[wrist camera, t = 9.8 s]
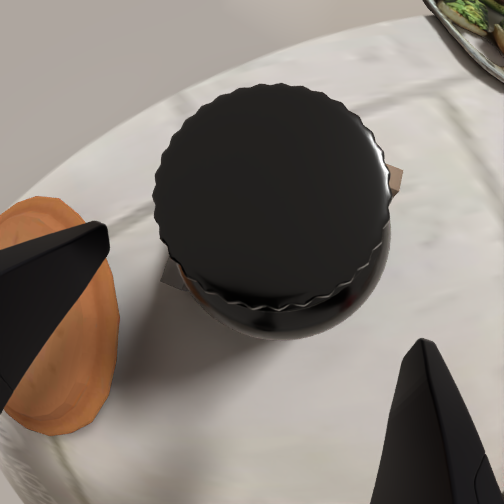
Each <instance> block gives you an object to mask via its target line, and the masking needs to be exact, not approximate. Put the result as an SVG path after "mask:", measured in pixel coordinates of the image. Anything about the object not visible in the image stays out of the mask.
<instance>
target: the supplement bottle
mask: <svg viewBox="0 0 504 504" xmlns="http://www.w3.org/2000/svg"><path fill="white" fill-rule="evenodd" d="M390 177H391V173H390V171H389V169H388V167H387V166H386V164H385V162H384V151H383V150H382V149H381V148H380V147H379V146H378V144H377V143H376V142H375V137H374V134H373V132H372V131H370V130H369V129H368V128H367V127H365V126H364V125H363V123H362V121H361V119H360V117H359V116H358V115H356V114H354V113H352V112H350V111H348V109H347V108H346V107H345V105H344V104H343V103H342V102H339V101H336V100H333V99H330V98H329V97H328V96H327V95H326V94H324V93H323V92H317V91H311V90H309V89H308V88H306V87H304V86H289V85H287V84H283V83H279V84H274V85H266V84H258V85H255V86H253V87H250V88H238V89H236V90H235V91H233V92H232V93H229V94H224V95H220V96H218V97H217V98H216V99H215V100H214V101H213V102H211V103H209V104H206V105H203V106H201V107H200V109H199V110H198V111H197V112H196V114H195V115H193V116H191V117H189V118H188V119H186V120H185V122H184V123H183V125H182V127H181V129H180V130H179V131H178V132H176V133H175V134H174V135H173V136H172V138H171V141H170V145H169V147H168V148H167V149H166V150H165V151H164V152H163V154H162V156H161V165H160V167H159V168H158V170H157V171H156V173H155V182H156V186H155V188H154V191H153V194H152V197H153V201H154V202H155V205H156V206H155V211H154V219H155V221H156V222H157V223H158V225H159V234H160V239H161V241H162V242H163V243H164V244H165V245H167V246H168V251H169V255H170V259H171V260H172V261H174V262H175V263H176V265H177V268H178V270H179V273H180V276H181V278H182V280H183V282H184V284H185V286H186V287H187V289H188V290H189V292H190V294H191V295H192V296H193V297H194V299H195V300H196V301H197V303H198V304H199V305H200V306H201V307H202V308H203V309H204V310H205V311H206V312H207V313H208V314H210V315H211V316H212V317H213V318H215V319H216V320H217V321H219V322H220V323H222V324H223V325H225V326H227V327H229V328H231V329H232V330H235V331H237V332H240V333H242V334H245V335H248V336H251V337H255V338H260V339H266V340H295V339H301V338H306V337H310V336H313V335H317V334H319V333H322V332H324V331H327V330H329V329H331V328H333V327H335V326H336V325H338V324H340V323H341V322H343V321H344V320H346V319H347V318H348V317H350V316H351V315H352V314H353V313H354V312H356V311H357V310H358V309H359V308H360V307H361V306H362V305H363V303H364V302H365V301H366V300H367V299H368V297H369V296H370V295H371V293H372V292H373V290H374V289H375V287H376V285H377V284H378V282H379V280H380V278H381V275H382V273H383V271H384V268H385V265H386V262H387V258H388V254H389V249H390V240H391V224H390V213H389V209H388V206H389V205H390V203H391V201H392V198H393V194H392V190H391V188H390V186H389V181H390Z"/></svg>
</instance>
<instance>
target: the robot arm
mask: <svg viewBox="0 0 504 504" xmlns="http://www.w3.org/2000/svg"><path fill="white" fill-rule="evenodd" d="M109 251H110V243H109V236H108V229H107V226H106V225H105V224H103V223H101V222H98V221H91V222H88V223H84V224H81V225H77V226H74V227H70V228H67V229H64V230H60V231H57V232H54V233H51V234H47V235H44V236H41V237H38V238H35V239H32V240H28V241H25V242H22V243H19V244H16V245H13V246H10V247H7V248H5V249H2V250H0V414H1V412H2V411H3V409H4V407H5V406H6V404H7V402H8V401H9V399H10V397H11V396H12V394H13V392H14V390H15V389H16V387H17V386H18V384H19V382H20V381H21V379H22V378H23V376H24V375H25V373H26V372H27V370H28V369H29V367H30V366H31V364H32V362H33V361H34V360H35V358H36V357H37V355H38V354H39V352H40V351H41V349H42V348H43V346H44V345H45V343H46V342H47V341H48V339H49V338H50V336H51V335H52V334H53V332H54V331H55V329H56V328H57V327H58V325H59V324H60V323H61V321H62V320H63V318H64V317H65V316H66V314H67V313H68V312H69V310H70V309H71V308H72V306H73V305H74V304H75V303H76V301H77V300H78V299H79V297H80V296H81V295H82V293H83V292H84V290H85V289H86V287H87V286H88V284H89V283H90V281H91V280H92V278H93V276H94V275H95V273H96V272H97V270H98V269H99V267H100V266H101V264H102V263H103V261H104V260H105V258H106V257H107V255H108V253H109ZM370 504H504V498H503V496H502V493H501V491H500V489H499V486H498V484H497V481H496V479H495V476H494V473H493V471H492V468H491V465H490V463H489V460H488V457H487V455H486V454H485V450H484V447H483V445H482V442H481V440H480V437H479V435H478V432H477V430H476V428H475V425H474V423H473V421H472V418H471V416H470V414H469V412H468V409H467V407H466V405H465V403H464V401H463V398H462V396H461V394H460V392H459V390H458V388H457V386H456V384H455V382H454V380H453V377H452V375H451V373H450V371H449V369H448V367H447V366H446V364H445V362H444V360H443V358H442V356H441V354H440V352H439V350H438V348H437V346H436V344H435V343H434V342H433V341H430V340H427V339H424V338H420V339H418V340H417V341H416V342H415V344H414V345H413V346H412V347H411V349H410V350H409V351H408V352H407V354H406V355H405V356H404V358H403V360H402V363H401V367H400V372H399V376H398V381H397V385H396V389H395V393H394V397H393V401H392V405H391V409H390V413H389V418H388V424H387V429H386V435H385V440H384V446H383V451H382V456H381V460H380V465H379V470H378V474H377V478H376V482H375V486H374V490H373V494H372V498H371V502H370Z"/></svg>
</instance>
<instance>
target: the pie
mask: <svg viewBox="0 0 504 504" xmlns="http://www.w3.org/2000/svg"><path fill="white" fill-rule="evenodd" d="M84 223H86V222H85V221H84V220H83V219H82V218H81V216H80V215H79V214H78V213H77V212H75V211H74V210H73V209H72V208H70V207H69V206H68V205H67V204H65V203H64V202H63V201H62V200H61V199H59V198H50V197H40V196H35V197H32V198H29V199H26V200H24V201H21V202H18V203H16V204H15V205H13V206H12V207H11V208H9V209H8V210H6V211H5V212H4V213H2V214H1V215H0V250H2V249H5V248H7V247H10V246H13V245H16V244H19V243H22V242H25V241H28V240H32V239H35V238H38V237H41V236H44V235H47V234H51V233H54V232H57V231H60V230H64V229H67V228H70V227H74V226H77V225H81V224H84ZM119 322H120V315H119V310H118V304H117V299H116V293H115V287H114V280H113V275H112V272H111V269H110V267H109V264H108V261H107V259H106V258H105V260H104V261H103V263H102V264H101V266H100V267H99V269H98V270H97V272H96V273H95V275H94V276H93V278H92V280H91V281H90V283H89V284H88V286H87V287H86V289H85V290H84V292H83V293H82V295H81V296H80V297H79V299H78V300H77V301H76V303H75V304H74V305H73V306H72V308H71V309H70V310H69V312H68V313H67V314H66V316H65V317H64V318H63V320H62V321H61V323H60V324H59V325H58V327H57V328H56V329H55V331H54V332H53V334H52V335H51V336H50V338H49V339H48V341H47V342H46V343H45V345H44V346H43V348H42V349H41V351H40V352H39V354H38V355H37V357H36V358H35V360H34V361H33V362H32V364H31V366H30V367H29V369H28V370H27V372H26V373H25V375H24V376H23V378H22V379H21V381H20V382H19V384H18V386H17V387H16V389H15V390H14V392H13V394H12V396H11V397H10V399H9V401H8V402H7V404H6V406H5V407H4V410H5V411H6V413H7V414H8V415H9V416H11V417H12V418H13V419H14V420H16V421H17V422H18V423H20V424H21V425H22V426H24V427H25V428H27V429H30V430H33V431H36V432H39V433H42V434H45V435H48V436H54V435H62V434H69V433H72V432H74V431H76V430H78V429H80V428H82V427H84V426H86V425H88V424H90V423H92V421H93V420H94V418H95V417H96V415H97V413H98V412H99V410H100V409H101V407H102V405H103V404H104V402H105V401H106V399H107V397H108V396H109V392H110V387H111V382H112V378H113V373H114V369H115V365H116V360H117V346H118V333H119Z"/></svg>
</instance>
